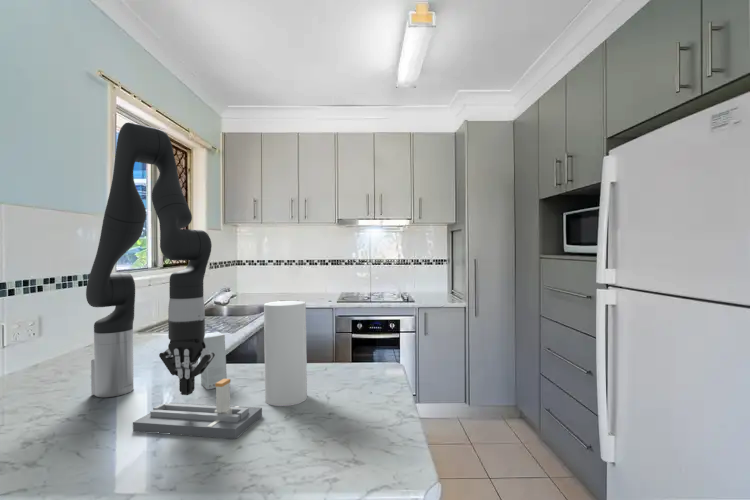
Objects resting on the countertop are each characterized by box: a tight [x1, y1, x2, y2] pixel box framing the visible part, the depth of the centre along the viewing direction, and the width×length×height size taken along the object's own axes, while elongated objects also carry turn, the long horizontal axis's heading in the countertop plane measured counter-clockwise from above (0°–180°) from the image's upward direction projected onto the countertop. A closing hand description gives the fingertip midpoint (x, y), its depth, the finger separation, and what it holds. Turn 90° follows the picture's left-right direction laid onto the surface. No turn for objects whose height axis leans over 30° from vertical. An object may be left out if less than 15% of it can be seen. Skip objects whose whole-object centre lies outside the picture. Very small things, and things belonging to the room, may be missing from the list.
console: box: [132, 402, 263, 440], centre depth 93 cm, size 24×12×3 cm, turn 79°
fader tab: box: [214, 378, 232, 414], centre depth 92 cm, size 3×3×8 cm
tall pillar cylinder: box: [263, 300, 308, 407], centre depth 108 cm, size 11×11×25 cm
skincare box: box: [199, 331, 228, 390], centre depth 121 cm, size 8×6×15 cm
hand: (187, 393), depth 94 cm, fingers closed
